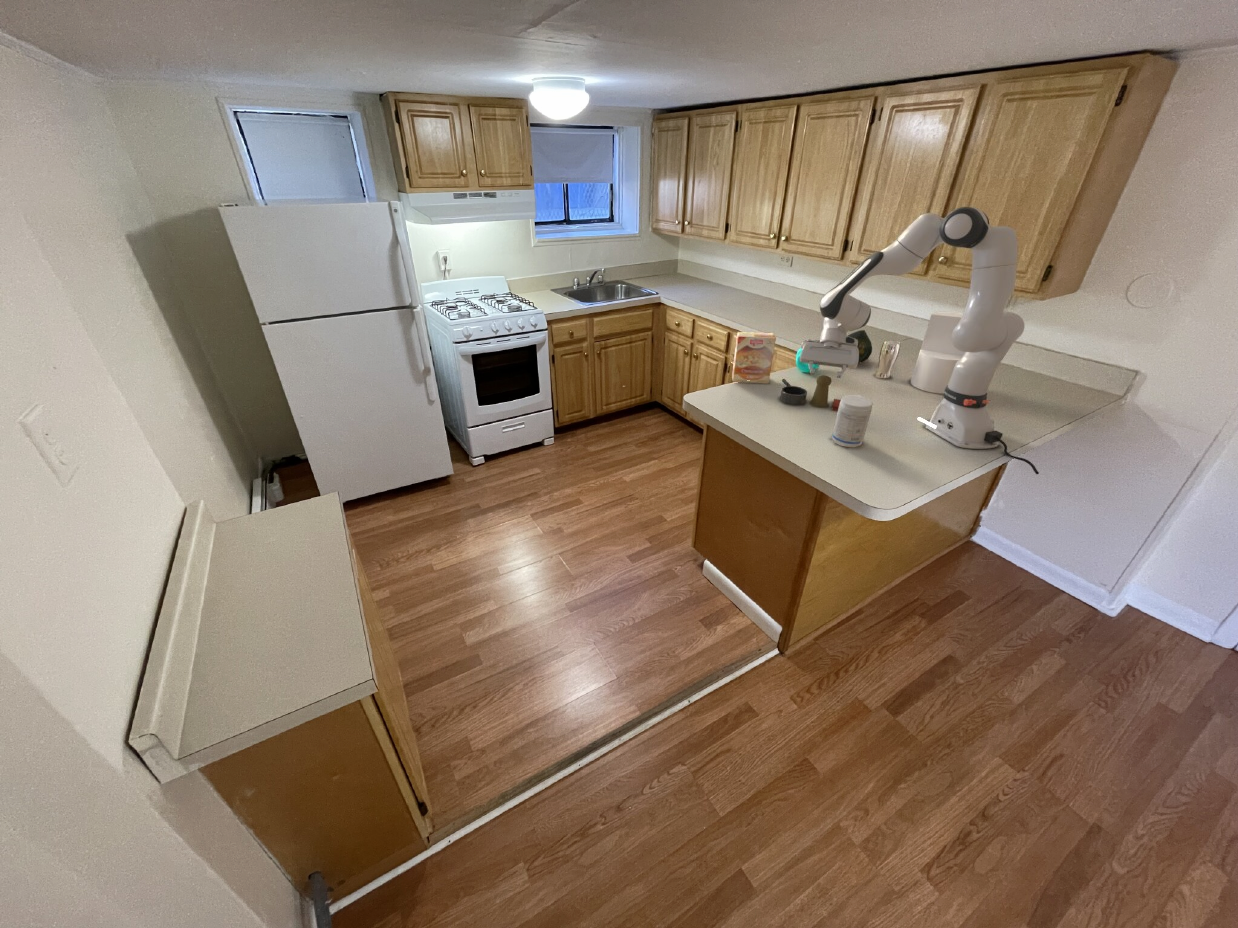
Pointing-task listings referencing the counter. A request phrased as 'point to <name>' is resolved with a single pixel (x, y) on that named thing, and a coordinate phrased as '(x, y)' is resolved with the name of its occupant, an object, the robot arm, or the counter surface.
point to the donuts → (803, 366)
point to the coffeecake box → (753, 357)
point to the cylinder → (937, 353)
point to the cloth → (836, 404)
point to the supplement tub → (852, 420)
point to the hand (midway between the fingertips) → (825, 375)
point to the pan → (793, 395)
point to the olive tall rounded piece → (821, 391)
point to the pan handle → (785, 382)
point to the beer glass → (887, 358)
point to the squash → (862, 345)
